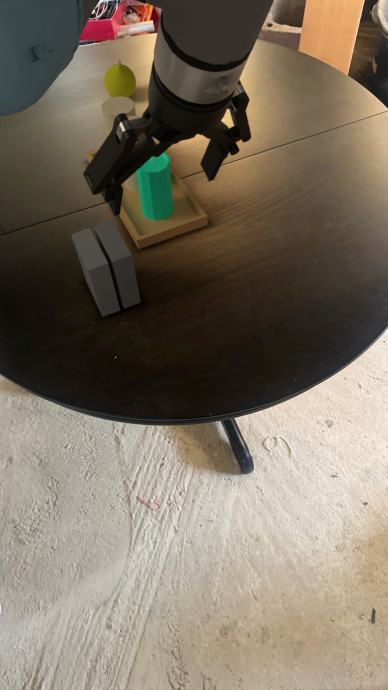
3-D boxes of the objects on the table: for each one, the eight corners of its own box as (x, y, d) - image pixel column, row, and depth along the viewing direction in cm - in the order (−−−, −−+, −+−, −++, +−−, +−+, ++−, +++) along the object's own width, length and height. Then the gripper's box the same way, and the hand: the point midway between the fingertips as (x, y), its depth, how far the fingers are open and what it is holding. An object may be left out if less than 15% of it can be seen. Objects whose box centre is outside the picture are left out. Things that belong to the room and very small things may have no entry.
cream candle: (108, 159, 97) (96, 101, 87) (135, 150, 98) (127, 93, 88) (118, 175, 94) (108, 118, 84) (146, 166, 95) (139, 109, 85)
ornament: (126, 109, 107) (119, 63, 99) (101, 101, 109) (92, 55, 101) (143, 93, 111) (138, 48, 102) (118, 86, 113) (111, 41, 104)
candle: (176, 200, 89) (172, 142, 79) (170, 222, 86) (165, 165, 76) (145, 197, 90) (137, 140, 80) (138, 219, 87) (129, 162, 77)
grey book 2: (106, 275, 80) (93, 226, 71) (123, 269, 81) (112, 220, 72) (123, 309, 76) (112, 261, 67) (141, 302, 77) (131, 254, 68)
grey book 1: (86, 282, 80) (70, 234, 70) (103, 276, 80) (90, 227, 71) (102, 317, 75) (88, 270, 66) (120, 310, 76) (108, 263, 67)
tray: (88, 162, 97) (86, 153, 95) (149, 143, 100) (148, 134, 98) (138, 249, 83) (137, 240, 82) (207, 224, 86) (207, 215, 85)
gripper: (78, 151, 37) (83, 248, 58) (332, 69, 44) (255, 182, 64) (38, 69, 38) (57, 193, 58) (296, 0, 44) (231, 134, 65)
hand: (161, 188), depth 61 cm, fingers open, 13 cm apart
